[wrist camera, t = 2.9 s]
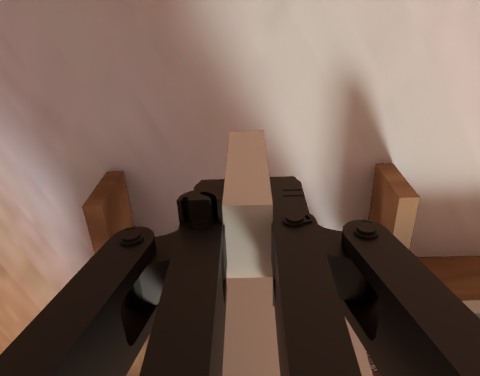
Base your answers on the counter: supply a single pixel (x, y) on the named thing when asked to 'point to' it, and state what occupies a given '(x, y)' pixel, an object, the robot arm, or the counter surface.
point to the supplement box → (260, 331)
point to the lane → (381, 211)
